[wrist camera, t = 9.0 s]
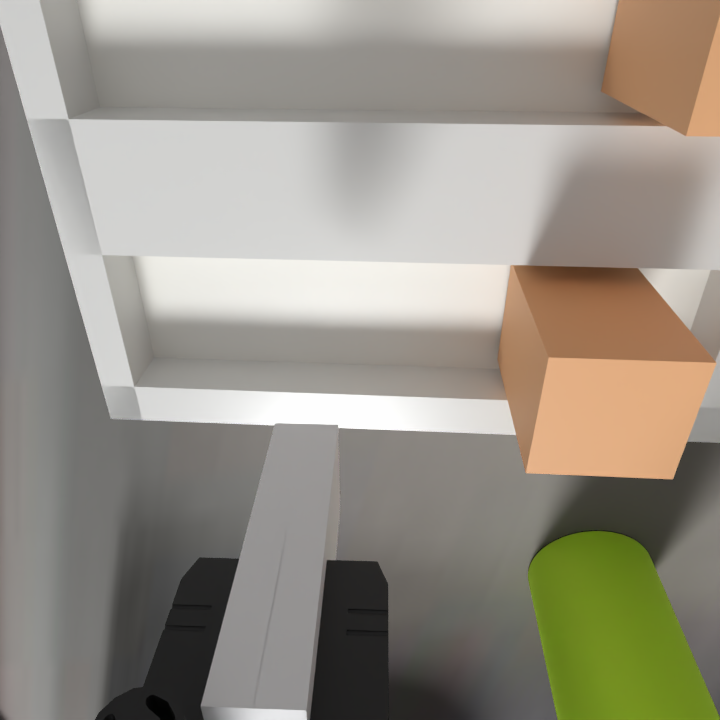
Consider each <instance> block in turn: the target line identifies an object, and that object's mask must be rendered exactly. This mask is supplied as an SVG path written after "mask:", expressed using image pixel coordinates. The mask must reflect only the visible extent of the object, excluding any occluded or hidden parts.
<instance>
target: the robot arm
mask: <svg viewBox="0 0 720 720" xmlns="http://www.w3.org/2000/svg"><path fill="white" fill-rule="evenodd" d="M339 518H340V472H339V428H338V425H329V424H287V423H275V425H274V429H273V433H272V436H271V440H270V444H269V448H268V452H267V455H266V459H265V463H264V467H263V471H262V474H261V478H260V482H259V486H258V490H257V493H256V497H255V501H254V505H253V509H252V512H251V516H250V520H249V524H248V528H247V531H246V535H245V539H244V543H243V547H242V551H241V554H240V558H239V559H229V558H199V559H198V560H197V561H196V562H195V563H194V565H193V566H192V567H191V568H190V569H189V571H188V572H187V573H186V574H185V575H184V577H183V578H182V579H181V581H180V584H179V587H178V590H177V593H176V596H175V598H174V601H173V604H172V605H173V606H172V609H171V610H170V613H169V615H168V618H167V621H166V624H165V630H163V632H162V635H161V638H160V641H159V644H158V646H157V649H156V652H155V655H154V658H153V661H152V663H151V666H150V669H149V672H148V675H147V677H146V680H145V683H144V686H143V687H140V688H133V689H131V690H129V691H127V692H125V693H123V694H122V695H120V696H118V697H116V698H114V699H113V700H112V701H111V702H110V703H109V704H108V705H107V706H106V707H105V708H104V709H103V710H101V711H100V712H99V714H98V715H97V717H96V719H95V720H389V716H388V583H387V581H386V579H385V577H384V575H383V573H382V570H381V568H380V566H379V564H378V562H372V561H340V560H336V552H337V541H338V529H339Z"/></svg>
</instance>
